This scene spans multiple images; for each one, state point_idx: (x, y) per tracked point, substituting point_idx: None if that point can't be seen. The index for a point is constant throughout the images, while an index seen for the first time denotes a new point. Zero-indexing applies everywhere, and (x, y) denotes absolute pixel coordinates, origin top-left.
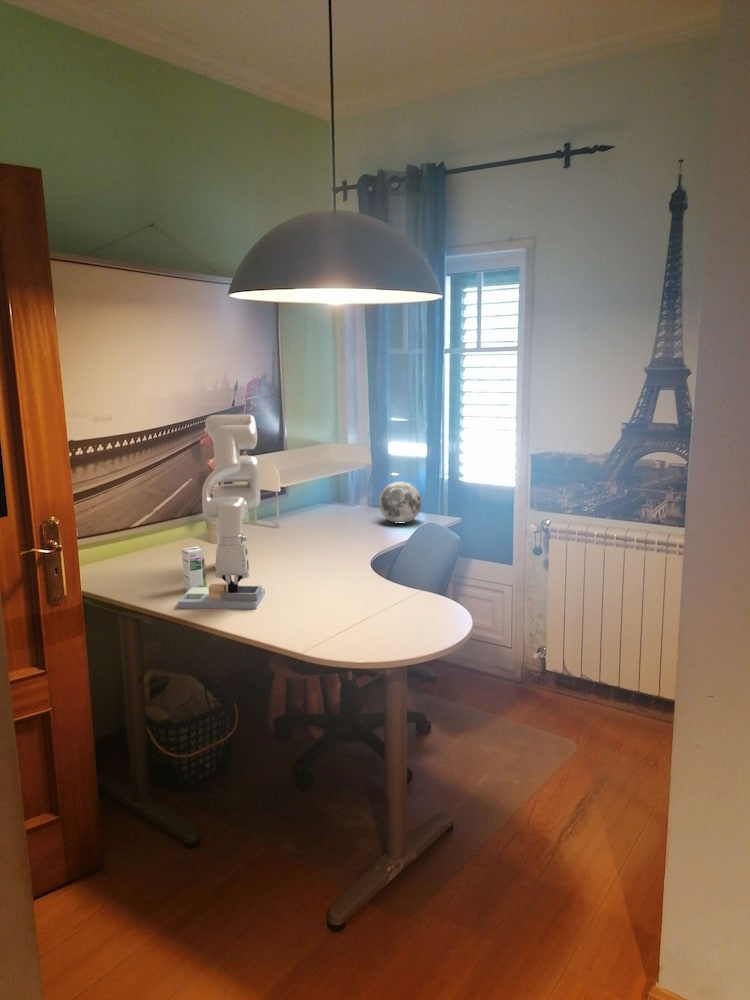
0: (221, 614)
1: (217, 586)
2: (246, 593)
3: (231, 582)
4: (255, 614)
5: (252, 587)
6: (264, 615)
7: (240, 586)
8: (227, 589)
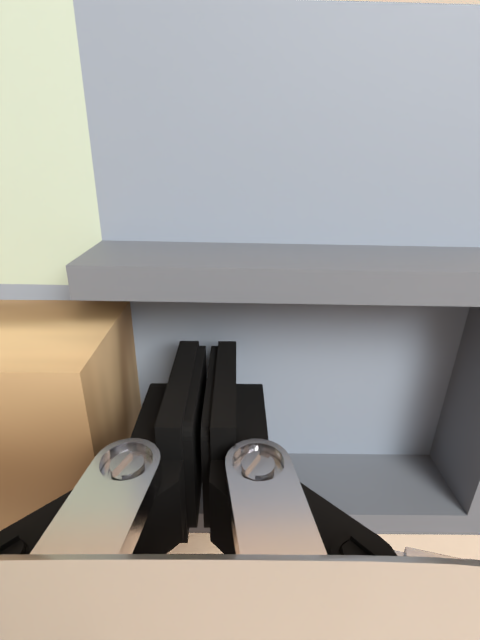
0: (188, 546)
1: (6, 515)
2: (380, 529)
3: (183, 532)
4: (410, 542)
5: (444, 300)
6: (468, 553)
7: (277, 302)
8: (113, 343)
